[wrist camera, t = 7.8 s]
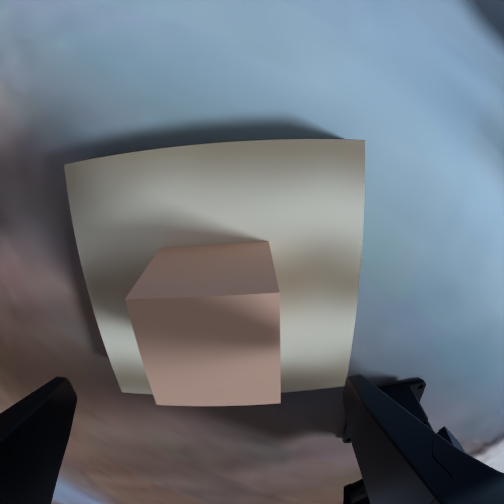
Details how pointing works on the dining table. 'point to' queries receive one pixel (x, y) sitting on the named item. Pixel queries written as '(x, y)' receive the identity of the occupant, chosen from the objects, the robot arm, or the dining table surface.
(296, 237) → the plinth
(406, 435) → the robot arm
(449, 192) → the dining table surface
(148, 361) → the cube
